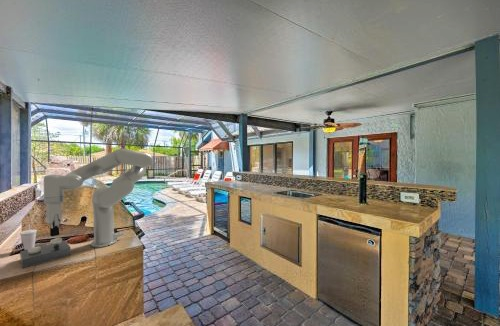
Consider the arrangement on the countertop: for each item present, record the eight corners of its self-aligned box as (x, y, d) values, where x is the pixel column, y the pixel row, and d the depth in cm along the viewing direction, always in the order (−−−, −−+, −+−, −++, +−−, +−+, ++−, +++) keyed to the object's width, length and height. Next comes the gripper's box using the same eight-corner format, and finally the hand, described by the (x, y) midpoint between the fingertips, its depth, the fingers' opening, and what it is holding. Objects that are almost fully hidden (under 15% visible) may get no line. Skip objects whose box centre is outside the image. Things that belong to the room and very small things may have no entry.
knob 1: (40, 254, 109) (40, 245, 109) (41, 257, 106) (41, 248, 106) (27, 258, 106) (27, 248, 106) (28, 261, 103) (28, 251, 103)
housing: (65, 247, 120) (65, 240, 119) (70, 254, 112) (70, 247, 111) (20, 259, 107) (20, 251, 106) (22, 268, 99) (22, 259, 99)
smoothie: (27, 252, 114) (25, 226, 113) (17, 251, 115) (16, 225, 114) (41, 247, 120) (39, 222, 119) (31, 246, 121) (30, 221, 120)
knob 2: (61, 245, 115) (61, 237, 115) (63, 248, 112) (62, 239, 112) (50, 248, 112) (49, 239, 112) (51, 251, 109) (51, 242, 109)
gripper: (41, 198, 112) (42, 233, 113) (46, 203, 103) (47, 241, 104) (60, 196, 118) (61, 229, 119) (67, 200, 108) (67, 237, 109)
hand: (54, 235), depth 111 cm, fingers closed
